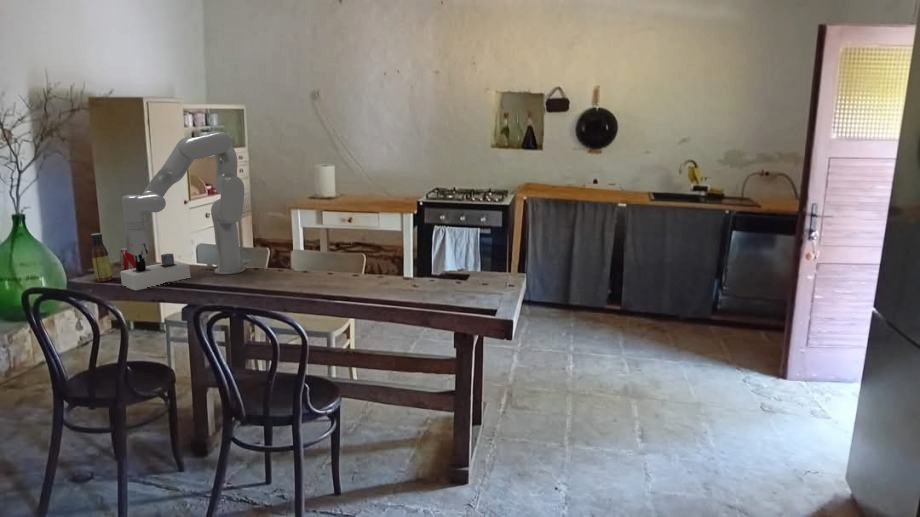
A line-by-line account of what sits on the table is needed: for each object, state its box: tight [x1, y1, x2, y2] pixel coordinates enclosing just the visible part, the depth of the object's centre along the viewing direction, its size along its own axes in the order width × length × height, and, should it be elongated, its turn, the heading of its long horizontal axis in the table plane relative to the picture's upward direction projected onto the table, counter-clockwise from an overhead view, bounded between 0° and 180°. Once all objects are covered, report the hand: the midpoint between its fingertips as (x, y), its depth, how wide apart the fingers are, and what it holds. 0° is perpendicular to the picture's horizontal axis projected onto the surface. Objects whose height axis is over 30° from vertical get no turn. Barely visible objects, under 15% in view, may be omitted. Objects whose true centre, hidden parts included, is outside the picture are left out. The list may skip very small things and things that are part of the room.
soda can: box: [119, 246, 136, 271], centre depth 285 cm, size 7×7×12 cm
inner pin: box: [160, 253, 175, 268], centre depth 277 cm, size 5×5×6 cm
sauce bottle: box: [90, 232, 113, 283], centre depth 276 cm, size 6×6×20 cm
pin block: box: [120, 260, 192, 292], centre depth 274 cm, size 23×12×6 cm, turn 139°
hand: (141, 270), depth 269 cm, fingers closed
